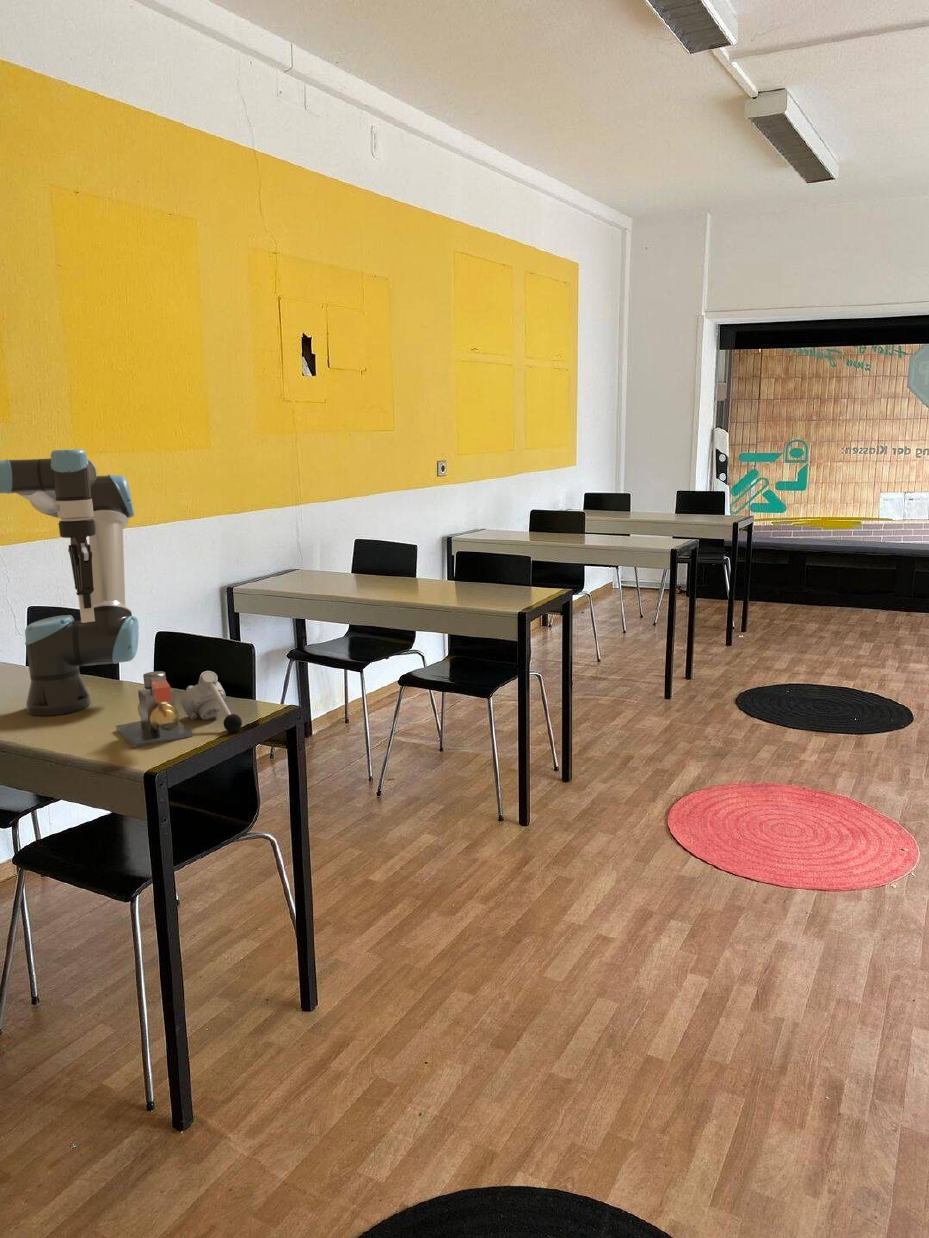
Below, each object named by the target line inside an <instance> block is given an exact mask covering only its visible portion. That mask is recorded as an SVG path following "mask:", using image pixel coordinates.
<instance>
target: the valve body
mask: <svg viewBox="0 0 929 1238" xmlns="http://www.w3.org/2000/svg"><path fill="white" fill-rule="evenodd" d="M137 692H138V693H137V694H138V704H137V714H138V715H139V716H140V720H138V721H133V722H127V723H123V724H117V725H115V730H116V732H117V733H118V734H119V735H120V736H121V737H122V738H123V739H124V740H125V741H126V742H127V743H128V744H129V745H130V746H131V747H132V748H134V749H138V748H142V747H146V746H147V747H148V746H151V745H157V744H162V743H167V742H172V741H176V740H181V739H186V738H190V737H193V731H192V730H191V729H190V728H189V727H187V726H186V725H184V724H183V723H182V722H181V721H180V713H179V711H178V709H177V708H176V699H175V691H174V690H173V689H171V698H172V701H167V702H160V703H156V701H155V699H154V697H153V694H152V690H151V689H145V688H143V689H139V690H138V691H137Z"/></svg>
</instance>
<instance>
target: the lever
mask: <svg viewBox="0 0 929 1238" xmlns="http://www.w3.org/2000/svg"><path fill="white" fill-rule="evenodd" d="M142 677H143V685H144V689H151V690H152V694H153V697H154V699H155V701H156V703H160V702H167V701H172V698H171V685H170V684H169V682H168V681H167V678H166V672H165V671H163V670H162V671H161V670H160V671H159V670H158V671H149V672H145V673H143V676H142Z"/></svg>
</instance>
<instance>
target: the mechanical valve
mask: <svg viewBox="0 0 929 1238" xmlns="http://www.w3.org/2000/svg"><path fill="white" fill-rule="evenodd" d="M197 683H198V684H195V685H188V686H187V687H186V689H185V690H186V691H185V693H184V694H183V695H182V697H181V699H180V704H181V706H182V708H183V710H184V712H185V714H186V715H187V716H188V717H189V718H190V719H191V720H195V719H197V718H198V717H200V719H201V720H210V719H213V718H215V717H217V716H218V715H219V714H220V713H221V711H222V713H223V716H225V718H224V719H223V727H224V729H225V730H226V731H227V732H229V733H235V732H237V731H240V730H241V728H242V725H243V721H242V720H243V719H242V718H241V717H240V716H239V715H238V714H235V713H231V711H230V709H229V708H228V705H227V704H226V702H225V700H226V696H227V694H226V692H225V690H224V688H223V686H222V685H221V682H219V681H218V675H217V673H215V672H214V671H211V670H206V671H203V672H201V674H200V675H199V679H198V682H197Z"/></svg>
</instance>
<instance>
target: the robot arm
mask: <svg viewBox="0 0 929 1238" xmlns="http://www.w3.org/2000/svg"><path fill="white" fill-rule="evenodd" d="M97 474H98V472H97V468H96V466H95V464H94V463H93V462H92V461H91V460H89V459H88V457H87V451H86V450H85V449H83V448H78V449H77V448H74V449H69V448H68V449H55V450H52V451H51V452H50V458H38V459H37V458H31V459H8V458H7V459H3V460H0V494H7V495H9V494H17V495H18V496H20V497H22V498H23V499H25V500H27V501H28V502H29V503H30V504H31V507H32V508H34V509H35V510H37V511H38V512H39V513H41V514H44V515H46V516H49V517H53V518H57V519H60V520H59V521H58V530H59V536H60V538H64V539H70V544H68V549H67V551H68V553H69V557H70V564H71V569H72V575H73V576H72V577H73V582H74V589H75V590H76V592H75V593H76V596H77V597H78V603H79V604H78V605H79V613H80V615H79V616H80V620H75V618H74V617H73V615H71V614H67V615H55V616H52V617H47V618H43V619H39V620H36V621H34V622H31V623H30V624H28V625H26V628H25V629H24V637H25V642H24V644H25V648H26V655H27V663H28V669H29V675H30V676H29V677H30V683H29V684H30V685H29V688H28V689H29V690H28V693H27V698H26V705H25V706H26V712H27V713H28V714H29V715H32V716H38V717H39V716H41V717H47V716H49V717H50V716H58V715H59V716H60V715H64V714H65V715H66V714H70V713H74V712H77V711H81V710H84V709H86V708H87V707H89V706H90V705H91V703H92V702H91V695H90V693H89V690H88V688H87V687H86V685H85V683H84V680H83V679H82V676H81V672H80V667H85V666H96V665H99V666H100V665H110V664H113V665H115V664H119V663H125V662H126V663H127V662H131V661H132V660H133V659H134V658H135V657H136V655H137V652H138V647H139V646H138V645H139V634H140V633H139V628H140V627H139V620H138V618H137V617H136V616H133V615H132V610H131V609H129V608H128V607H127V606H126V589H125V588H126V587H125V585H126V583H125V558H124V557H125V555H124V528H126V527H127V526H128V525H129V518H130V519H131V518H133V517H134V516H135V508H134V505H133V500H132V499H133V498H132V495H131V494H132V493H131V490H130V487H129V482H128V480H127V478H126V477H125V476H123V475H118V474H115V475H114V474H113V475H111V474H107V475H97ZM87 537H88V539H87ZM88 541H89V544H88Z"/></svg>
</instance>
